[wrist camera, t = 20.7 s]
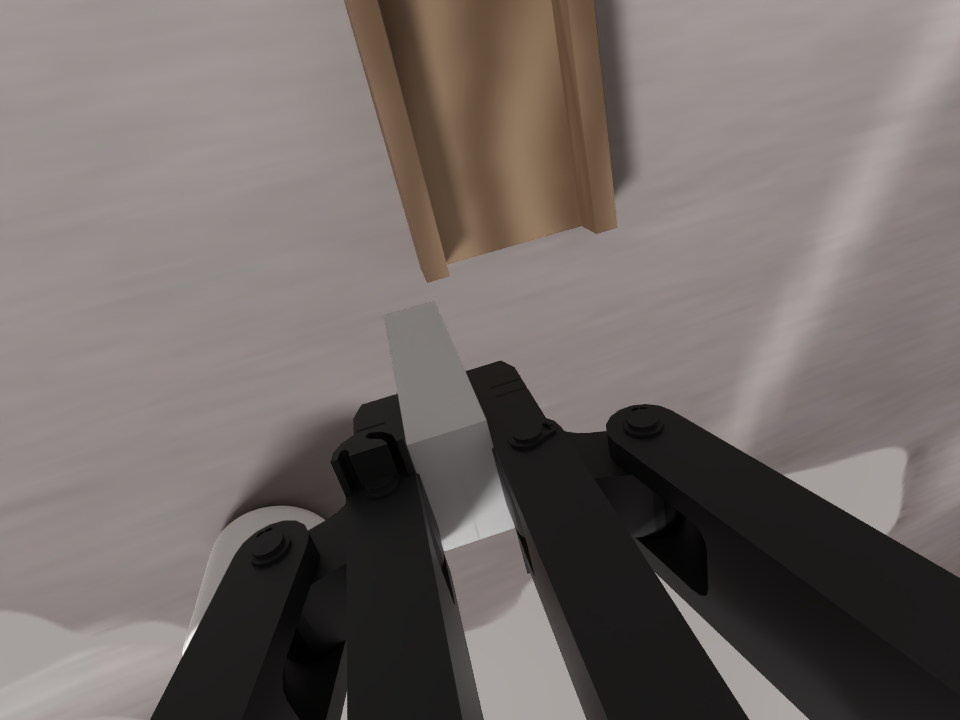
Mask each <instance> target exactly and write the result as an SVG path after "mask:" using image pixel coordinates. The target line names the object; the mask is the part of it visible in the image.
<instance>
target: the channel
mask: <svg viewBox="0 0 960 720" xmlns="http://www.w3.org/2000/svg"><path fill="white" fill-rule="evenodd" d="M344 1H345V5H346V8H347V12H348V15H349V19H350V22H351V26H352V29H353V33H354V36H355V40H356V43H357V47H358V50H359V54H360V57H361V61H362V64H363V68H364V71H365V75H366V78H367V82H368V85H369V89H370V92H371V96H372V99H373V103H374V106H375V110H376V113H377V117H378V120H379V124H380V127H381V131H382V134H383V138H384V141H385V145H386V148H387V152H388V155H389V159H390V162H391V166H392V169H393V173H394V176H395V180H396V183H397V187H398V190H399V194H400V197H401V201H402V204H403V208H404V211H405V215H406V218H407V222H408V225H409V229H410V232H411V236H412V239H413V243H414V246H415V250H416V253H417V257H418V260H419V264H420V267H421V270H422V272H423V274H424V277H425V279H426V281H427V283H428V282H432V281H435V280H439V279H442V278H445V277H449V276H450V275H449V271H448V268H447V264H451V263H454V262H458V261H461V260H464V259H468V258H471V257H475V256H478V255H482V254H485V253H489V252H492V251H496V250H499V249H503V248H506V247H510V246H513V245H517V244H520V243H524V242H527V241H531V240H534V239H538V238H541V237H545V236H548V235H551V234H555V233H558V232H562V231H565V230H569V229H572V228H576V227H579V226H583V227H585V228H587V229H588V230H590V231H592V232H594V233H596V234H597V233H601V232H604V231H608V230H611V229H615V228H617V218H616V209H615V199H614V190H613V180H612V170H611V161H610V151H609V141H608V132H607V122H606V113H605V103H604V93H603V84H602V74H601V64H600V55H599V45H598V36H597V26H596V16H595V7H594V0H344Z"/></svg>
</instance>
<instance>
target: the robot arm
mask: <svg viewBox="0 0 960 720" xmlns="http://www.w3.org/2000/svg"><path fill="white" fill-rule="evenodd" d="M384 319H385V324H386V330H387V336H388V341H389V347H390V353H391V358H392V364H393V370H394V376H395V381H396V387H397V393H398V394H395V395H392V396H389V397H386V398H382V399H379V400H376V401H373V402H369V403H366V404H363V405H361V407H360V408H359V410H358V412H357V413H356V415H355V417H354V419H353V423H354V435H353V436H352V437H350V438H349V439H347V440H346V441H344V442H343V443H342V444H341V445H340V446H339V447H338V448H337V449H336V450H335V452H334V453H333V456H332V459H331V464H332V467H333V469H334V471H335V473H336V476H337V478H338V480H339V482H340V485H341V487H342V489H343V491H344V494H345V496H346V504H345V506H344V507H342V508H341V509H340V510H339V511H338V512H337V513H336V514H334V515H333V516H331V517H330V518H328V519H327V520H325V521H323V522H322V523H320V524H318V525H316V526H315V527H313V528H311V529H309V530H307V528H306V526H305V524H302V523H300V522H298V521H296V520H283V521H280V522H277V523H273V524H270V525H268V526H266V527H264V528H262V529H261V530H259V531H257V532H255V533H254V534H253V535H252V536H251V537H249V538H248V539H247V540H246V541H245V542H244V543H243V544H242V545H241V546H240V548H239V549H238V551H237V552H236V553H235V555H234V557H233V559H232V561H231V563H230V565H229V567H228V569H227V570H226V572H225V574H224V576H223V578H222V580H221V582H220V584H219V586H218V588H217V590H216V592H215V594H214V596H213V598H212V600H211V602H210V604H209V606H208V608H207V610H206V612H205V613H204V615H203V617H202V619H201V621H200V623H199V625H198V627H197V629H196V631H195V633H194V635H193V637H192V639H191V641H190V643H189V645H188V647H187V649H186V651H185V653H184V655H183V656H182V658H181V660H180V662H179V664H178V666H177V668H176V670H175V672H174V674H173V676H172V678H171V680H170V682H169V684H168V686H167V688H166V690H165V692H164V694H163V696H162V698H161V699H160V701H159V703H158V705H157V707H156V709H155V711H154V713H153V715H152V717H151V719H150V720H340V719H341V715H342V710H343V706H344V701H345V697H346V692H347V708H348V709H347V718H348V719H347V720H484V719H483V714H482V710H481V706H480V701H479V697H478V692H477V688H476V683H475V679H474V674H473V670H472V665H471V661H470V656H469V652H468V648H467V643H466V639H465V634H464V630H463V625H462V621H461V616H460V612H459V607H458V603H457V599H456V594H455V590H454V585H453V581H452V576H451V572H450V569H449V566H448V563H447V560H446V558H445V555H444V551H447V550H450V549H453V548H456V547H459V546H462V545H465V544H468V543H471V542H474V541H477V540H480V539H483V538H486V537H489V536H492V535H495V534H498V533H501V532H504V531H507V530H509V529H512V528H516V532H517V535H518V539H519V543H520V547H521V551H522V554H523V558H524V562H525V566H526V570H527V574H528V573H531V576H532V578H533V581H534V583H535V586H536V589H537V591H538V594H539V597H540V599H541V602H542V604H543V607H544V609H545V612H546V615H547V617H548V620H549V623H550V625H551V628H552V630H553V633H554V635H555V638H556V641H557V643H558V646H559V649H560V651H561V654H562V657H563V659H564V661H565V664H566V667H567V670H568V672H569V675H570V677H571V680H572V682H573V685H574V688H575V690H576V693H577V696H578V698H579V701H580V703H581V706H582V709H583V711H584V714H585V717H586V719H587V720H749V719H748V717H747V716H746V714H745V713H744V711H743V709H742V708H741V706H740V705H739V703H738V702H737V700H736V698H735V697H734V695H733V694H732V692H731V691H730V689H729V688H728V686H727V684H726V683H725V681H724V680H723V678H722V677H721V675H720V673H719V672H718V670H717V669H716V667H715V666H714V664H713V663H712V661H711V659H710V658H709V656H708V655H707V653H706V652H705V650H704V649H703V647H702V645H701V644H700V642H699V641H698V640H697V638H696V636H695V635H694V633H693V631H692V630H691V628H690V627H689V625H688V624H687V622H686V621H685V619H684V617H683V616H682V614H681V613H680V611H679V610H678V608H677V607H676V605H675V604H674V602H673V600H672V599H671V597H670V596H669V594H668V593H667V591H666V590H665V588H664V586H663V585H662V583H661V582H660V580H659V579H658V577H657V575H658V576H659V577H661V578H662V579H663V580H664V581H665V582H666V583H667V584H668V585H669V586H670V587H671V588H672V589H673V590H674V591H675V592H676V593H677V594H678V595H679V596H680V597H681V598H682V599H684V600H685V601H686V602H687V603H688V604H689V605H690V606H691V607H692V608H693V609H694V610H695V611H696V612H697V613H698V614H699V615H700V616H701V617H703V619H705V620H706V621H707V622H708V623H709V624H710V625H711V626H712V627H713V628H714V629H715V630H716V631H717V632H718V633H719V634H720V635H721V636H722V637H723V638H724V639H725V640H727V641H728V642H729V643H730V644H731V645H732V646H733V647H734V648H735V649H736V650H737V651H738V652H739V653H740V654H741V655H742V656H743V657H745V658H746V660H748V661H749V662H750V663H751V664H752V665H753V666H754V667H755V668H756V669H757V670H758V671H759V672H760V673H761V674H762V675H763V676H765V678H766V679H767V680H769V681H770V682H771V683H772V684H773V685H774V686H775V687H776V688H777V689H778V690H779V691H780V692H781V693H782V694H783V695H784V696H785V697H786V698H787V699H788V700H789V701H791V702H792V703H793V704H794V705H795V706H796V707H797V708H798V709H799V710H800V711H801V712H802V713H803V714H804V715H805V716H806V717H807V718H808V719H809V720H960V578H959V577H957V576H955V575H954V574H952V573H950V572H948V571H947V570H945V569H943V568H942V567H940V566H938V565H936V564H935V563H933V562H931V561H930V560H928V559H926V558H924V557H923V556H921V555H919V554H918V553H916V552H914V551H912V550H911V549H909V548H907V547H906V546H904V545H902V544H900V543H899V542H897V541H895V540H893V539H892V538H890V537H888V536H887V535H885V534H883V533H881V532H880V531H878V530H876V529H875V528H873V527H871V526H869V525H868V524H866V523H864V522H863V521H860V520H859V519H857V518H856V517H854V516H852V515H850V514H849V513H847V512H845V511H844V510H842V509H840V508H838V507H837V506H835V505H833V504H832V503H830V502H828V501H826V500H825V499H823V498H821V497H820V496H818V495H816V494H814V493H813V492H811V491H809V490H808V489H806V488H804V487H802V486H801V485H799V484H797V483H796V482H794V481H792V480H790V479H788V478H787V477H785V476H783V475H782V474H780V473H778V472H777V471H775V470H773V469H771V468H770V467H768V466H766V465H765V464H763V463H761V462H759V461H758V460H756V459H754V458H753V457H751V456H749V455H747V454H746V453H744V452H742V451H741V450H739V449H737V448H735V447H734V446H732V445H730V444H728V443H727V442H725V441H723V440H722V439H720V438H718V437H716V436H715V435H713V434H711V433H710V432H708V431H706V430H704V429H703V428H701V427H699V426H698V425H696V424H694V423H692V422H691V421H689V420H687V419H686V418H684V417H682V416H680V415H679V414H677V413H675V412H673V411H672V410H669V409H667V408H664V407H662V406H657V405H649V404H643V405H633V406H629V407H627V408H624V409H621V410H619V411H617V412H616V413H615V414H613V415H612V416H611V417H610V418H609V420H608V422H607V424H606V429H607V431H603V432H593V433H572V432H566V431H563V429H562V428H561V426H559V425H558V424H557V423H556V422H555V421H553V420H550V419H547V418H546V417H545V416H544V414H543V412H542V411H541V409H540V408H539V406H538V404H537V403H536V401H535V400H534V398H533V396H532V395H531V393H530V391H529V390H528V389H527V387H526V385H525V383H524V382H523V380H522V379H521V377H520V375H519V374H518V372H517V370H516V369H515V367H513V366H511V365H509V364H507V363H505V362H503V361H498V362H494V363H491V364H488V365H485V366H481V367H478V368H475V369H472V370H468V371H465V369H464V367H463V365H462V363H461V360H460V358H459V356H458V353H457V351H456V349H455V346H454V344H453V342H452V339H451V337H450V335H449V333H448V330H447V328H446V326H445V323H444V321H443V319H442V316H441V314H440V312H439V309H438V307H437V305H436V303H435V301H432V302H428V303H425V304H421V305H418V306H415V307H411V308H408V309H404V310H401V311H397V312H394V313H391V314H387V315H384ZM514 525H515V527H514ZM443 549H444V551H443ZM655 573H656V574H657V575H656V574H655Z"/></svg>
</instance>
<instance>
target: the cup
mask: <svg viewBox="0 0 960 720" xmlns="http://www.w3.org/2000/svg"><path fill="white" fill-rule="evenodd" d="M283 520H296V521H298V522H300V523H302V524H305V526H306V528H307V530H309V529H311V528H313V527H315V526H316V525H318V524H320V523H322V522H323V521H325V520H324V519H323V518H322V517H320V516H319V515H317V514H315V513H313V512H311V511H308V510H306V509H302V508H298V507H293V506H270V507H264V508H259V509H256V510H253V511H250V512H248V513H246V514H244V515H242V516H240V517H238V518H237V519H235V520H234V521H232V522H231V523H230V524H229V525H228V526H227V527H226V528H225V529H224V530H223V531H222V532H221V533H220V535H219V536H218V538H217V539H216V541H215V543H214V545H213V548H212V550H211V554H210V557H209V561H208V564H207V567H206V571H205V574H204V578H203V581H202V585H201V588H200V591H199V595H198V598H197V602H196V605H195V609H194V612H193V615H192V619H191V622H190V626H189V629H188V632H187V636H186V639H185V643H184V646H183V651H182V656H183V655H184V653H185V651H186V649H187V647H188V645H189V643H190V641H191V639H192V637H193V635H194V633H195V631H196V629H197V627H198V625H199V623H200V621H201V619H202V617H203V615H204V613H205V612H206V610H207V608H208V606H209V604H210V602H211V600H212V598H213V596H214V594H215V592H216V590H217V588H218V586H219V584H220V582H221V580H222V578H223V576H224V574H225V572H226V570H227V569H228V567H229V565H230V563H231V561H232V559H233V557H234V555H235V553H236V552H237V551H238V549H239V548H240V546H241V545H242V544H243V543H244V542H245V541H246V540H247V539H248V538H249V537H251V536H252V535H253V534H254V533H255V532H257V531H259V530H261V529H262V528H264V527H266V526H268V525H270V524H273V523H277V522H280V521H283Z"/></svg>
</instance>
